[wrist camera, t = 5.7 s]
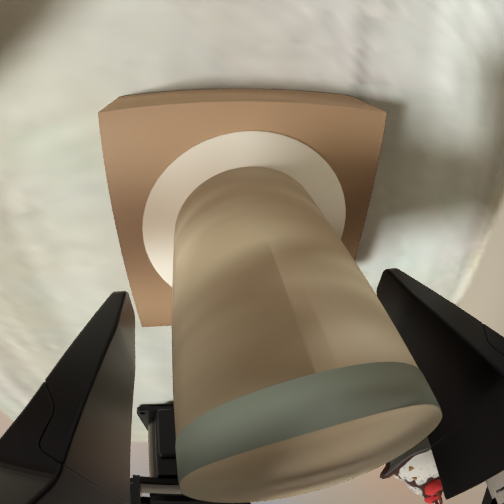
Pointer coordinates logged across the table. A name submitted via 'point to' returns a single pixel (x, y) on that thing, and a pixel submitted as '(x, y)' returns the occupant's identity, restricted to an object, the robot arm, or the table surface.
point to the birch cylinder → (281, 349)
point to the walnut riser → (228, 165)
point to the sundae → (417, 471)
